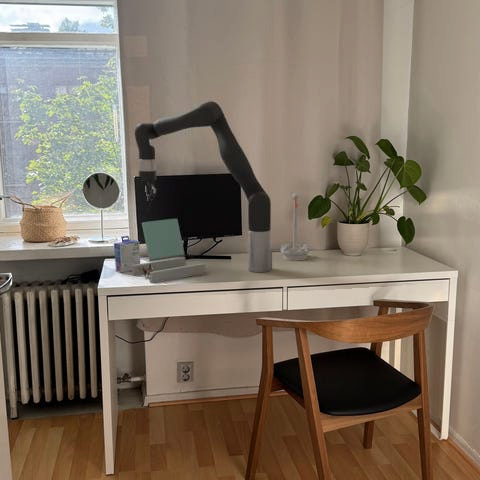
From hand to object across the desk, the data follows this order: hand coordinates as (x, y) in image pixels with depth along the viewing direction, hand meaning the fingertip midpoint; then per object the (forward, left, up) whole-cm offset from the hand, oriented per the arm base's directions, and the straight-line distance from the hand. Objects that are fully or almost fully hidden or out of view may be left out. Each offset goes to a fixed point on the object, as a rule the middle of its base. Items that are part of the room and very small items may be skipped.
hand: (148, 209), depth 274 cm
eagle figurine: (+14, +25, -25) cm, 38 cm away
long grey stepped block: (+4, +23, -24) cm, 34 cm away
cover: (0, +13, -12) cm, 17 cm away
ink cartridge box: (+14, +6, -25) cm, 29 cm away
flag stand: (-58, +32, -25) cm, 71 cm away
